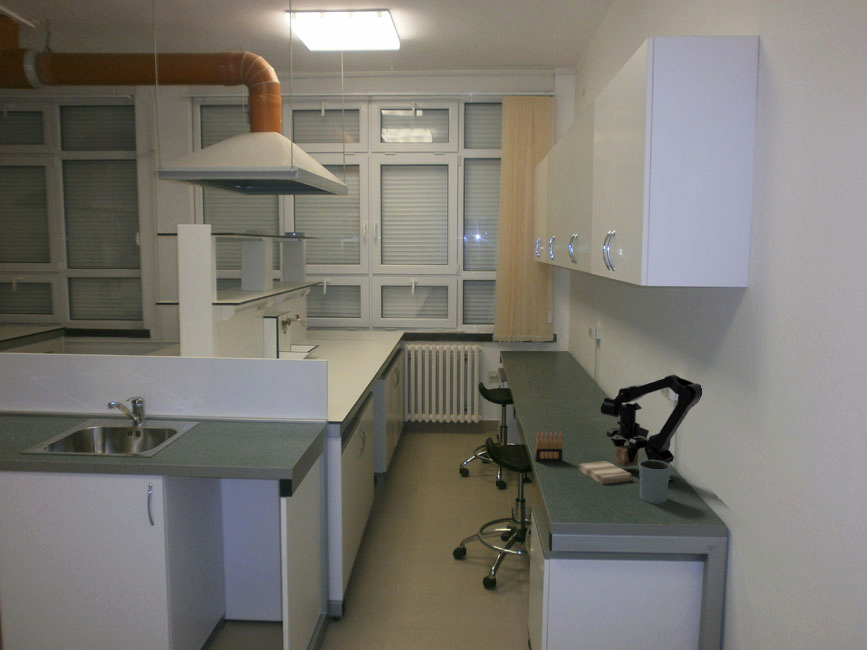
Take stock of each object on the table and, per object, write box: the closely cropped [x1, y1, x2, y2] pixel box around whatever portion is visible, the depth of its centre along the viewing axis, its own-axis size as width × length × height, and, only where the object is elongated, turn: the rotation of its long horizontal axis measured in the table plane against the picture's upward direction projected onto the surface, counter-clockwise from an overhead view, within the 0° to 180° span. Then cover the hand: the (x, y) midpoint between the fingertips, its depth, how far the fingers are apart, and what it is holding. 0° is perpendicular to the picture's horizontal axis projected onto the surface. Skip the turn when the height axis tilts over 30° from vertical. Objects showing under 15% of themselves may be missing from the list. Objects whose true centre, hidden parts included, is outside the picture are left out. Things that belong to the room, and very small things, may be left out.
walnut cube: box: [614, 445, 639, 468], centre depth 256 cm, size 6×6×6 cm
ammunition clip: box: [534, 430, 563, 463], centre depth 266 cm, size 11×2×12 cm, turn 92°
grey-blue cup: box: [638, 459, 672, 505], centre depth 225 cm, size 10×10×12 cm
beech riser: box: [578, 460, 632, 485], centre depth 249 cm, size 16×12×2 cm
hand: (626, 460), depth 256 cm, fingers closed on walnut cube, 6 cm apart
